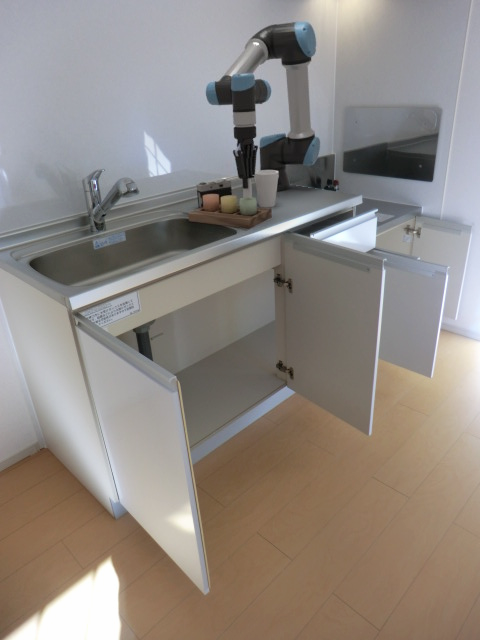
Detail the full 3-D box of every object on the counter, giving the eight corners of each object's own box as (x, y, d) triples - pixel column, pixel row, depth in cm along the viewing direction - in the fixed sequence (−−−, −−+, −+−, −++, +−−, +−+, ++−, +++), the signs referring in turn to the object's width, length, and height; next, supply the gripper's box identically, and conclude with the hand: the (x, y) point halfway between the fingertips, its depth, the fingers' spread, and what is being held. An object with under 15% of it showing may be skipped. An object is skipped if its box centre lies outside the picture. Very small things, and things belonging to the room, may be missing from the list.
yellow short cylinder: (227, 208, 180) (226, 194, 178) (240, 209, 177) (240, 196, 175) (218, 212, 176) (217, 198, 174) (232, 213, 173) (231, 199, 171)
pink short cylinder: (209, 206, 184) (208, 193, 182) (222, 207, 181) (221, 194, 179) (200, 210, 180) (199, 196, 177) (213, 211, 177) (212, 198, 175)
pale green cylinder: (245, 210, 176) (244, 196, 174) (259, 211, 174) (259, 197, 171) (237, 214, 172) (236, 200, 170) (251, 215, 169) (250, 201, 167)
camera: (223, 200, 205) (222, 176, 201) (233, 204, 199) (231, 179, 194) (193, 206, 199) (191, 181, 195) (202, 209, 193) (200, 184, 188)
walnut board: (213, 210, 190) (212, 203, 189) (271, 217, 178) (271, 208, 176) (189, 221, 178) (188, 213, 177) (249, 228, 166) (249, 219, 164)
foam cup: (277, 208, 189) (276, 174, 183) (253, 208, 191) (252, 174, 185) (280, 202, 197) (279, 169, 191) (257, 202, 199) (256, 170, 193)
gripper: (245, 123, 166) (247, 192, 177) (224, 127, 157) (228, 200, 167) (264, 123, 163) (265, 194, 173) (244, 127, 153) (247, 202, 163)
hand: (247, 197), depth 170 cm, fingers closed
